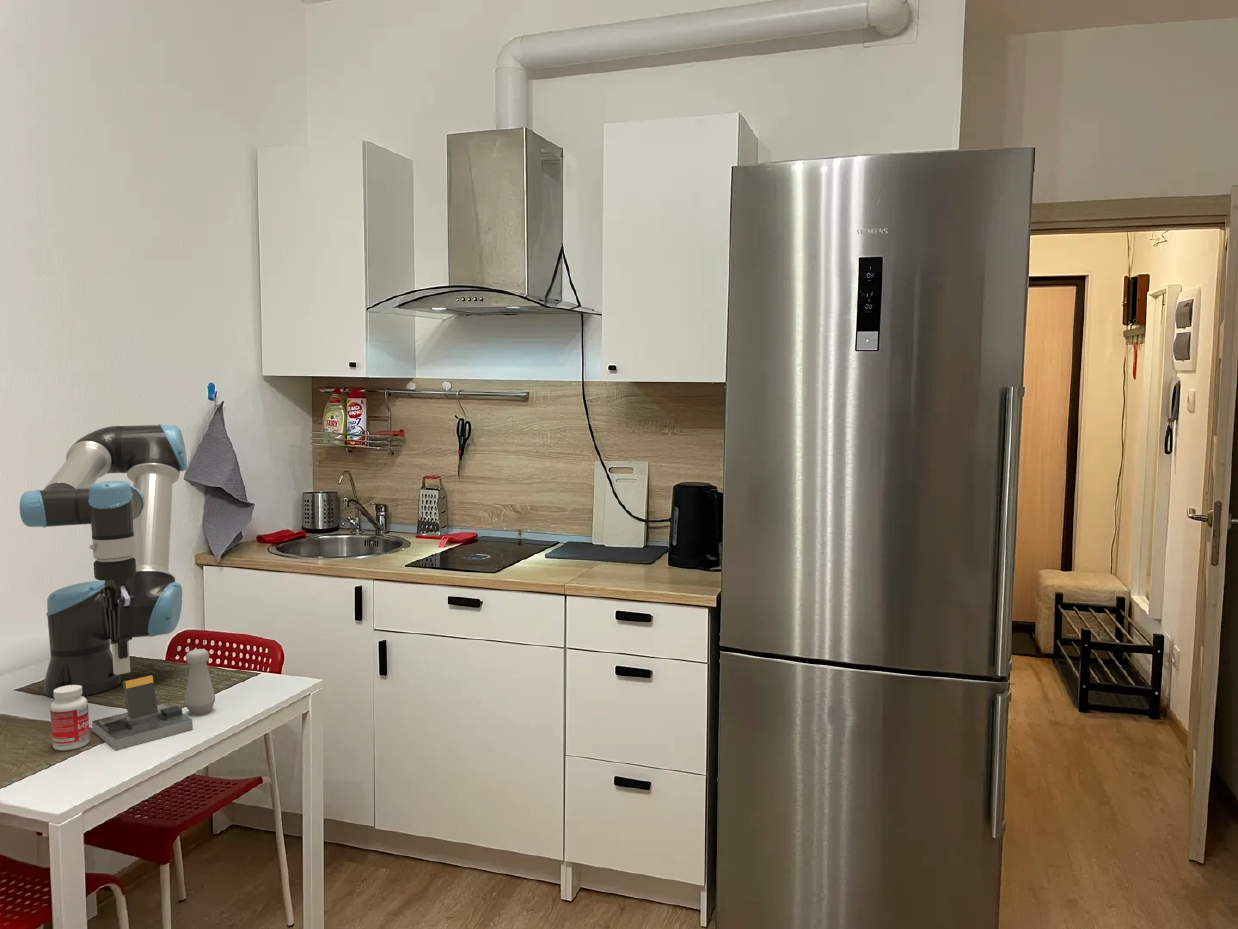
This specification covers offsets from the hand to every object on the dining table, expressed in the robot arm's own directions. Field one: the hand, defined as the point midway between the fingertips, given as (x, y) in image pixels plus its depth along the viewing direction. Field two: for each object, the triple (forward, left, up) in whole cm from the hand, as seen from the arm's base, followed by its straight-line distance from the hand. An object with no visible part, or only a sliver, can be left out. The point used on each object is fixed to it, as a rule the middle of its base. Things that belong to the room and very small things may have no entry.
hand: (122, 672), depth 192 cm
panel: (+10, 0, -10) cm, 14 cm away
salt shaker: (+8, +12, -10) cm, 17 cm away
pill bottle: (+8, -12, -10) cm, 17 cm away
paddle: (+11, 0, -7) cm, 13 cm away
